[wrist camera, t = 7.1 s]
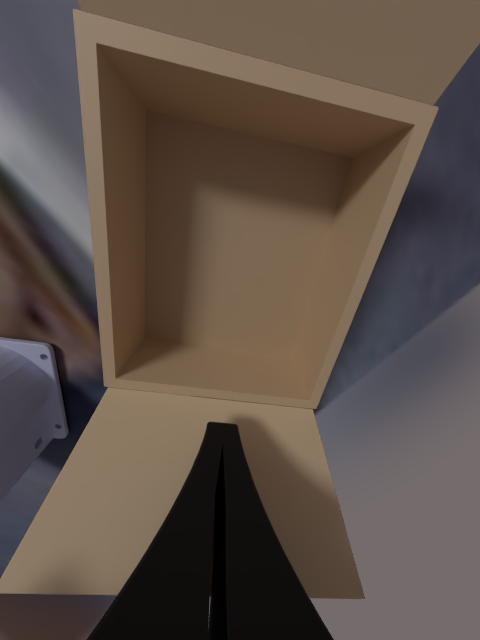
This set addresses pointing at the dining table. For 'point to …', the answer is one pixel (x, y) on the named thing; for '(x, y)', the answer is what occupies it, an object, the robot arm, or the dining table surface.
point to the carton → (232, 211)
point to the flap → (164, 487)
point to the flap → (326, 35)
